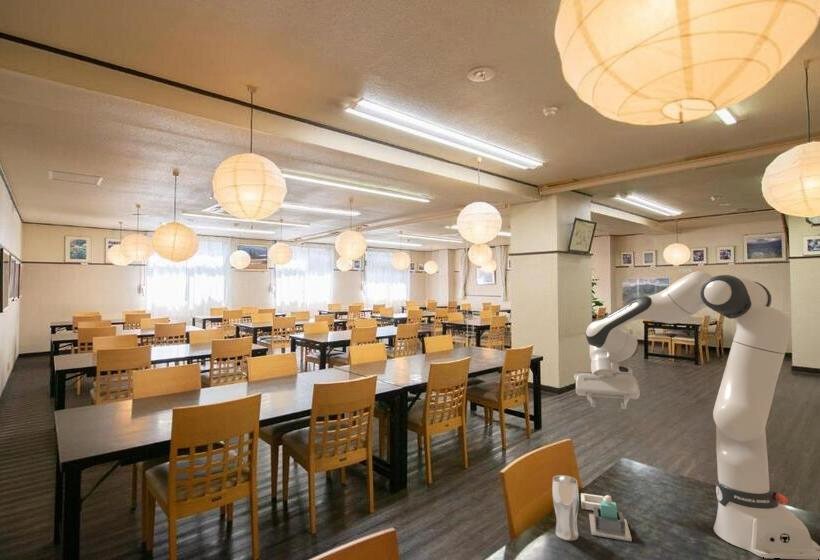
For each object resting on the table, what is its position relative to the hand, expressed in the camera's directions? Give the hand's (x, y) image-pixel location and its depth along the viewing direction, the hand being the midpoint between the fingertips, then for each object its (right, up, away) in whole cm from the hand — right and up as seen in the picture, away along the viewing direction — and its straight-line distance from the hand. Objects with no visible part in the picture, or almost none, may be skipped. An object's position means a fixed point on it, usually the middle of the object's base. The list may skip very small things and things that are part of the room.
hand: (608, 407), depth 138 cm
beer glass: (-23, -29, -23) cm, 44 cm away
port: (-10, -28, -21) cm, 37 cm away
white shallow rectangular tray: (-8, -29, -8) cm, 31 cm away
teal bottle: (-10, -27, -21) cm, 36 cm away
